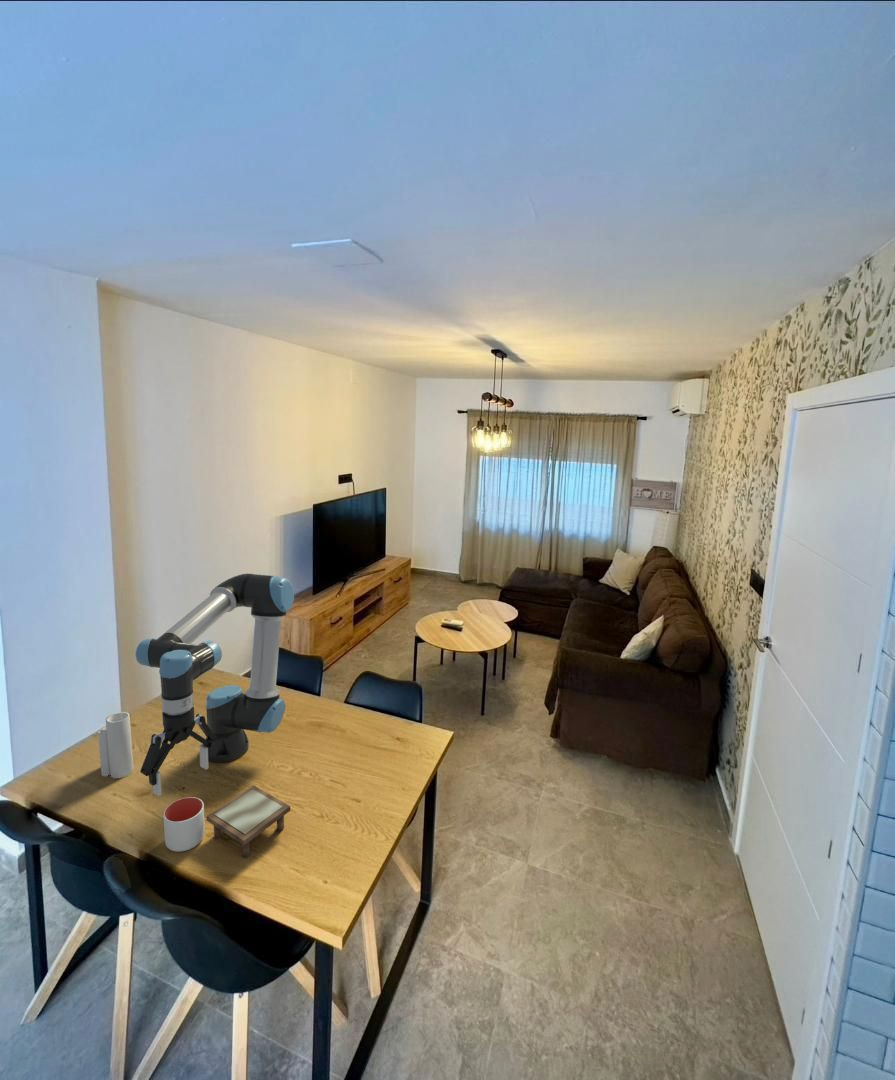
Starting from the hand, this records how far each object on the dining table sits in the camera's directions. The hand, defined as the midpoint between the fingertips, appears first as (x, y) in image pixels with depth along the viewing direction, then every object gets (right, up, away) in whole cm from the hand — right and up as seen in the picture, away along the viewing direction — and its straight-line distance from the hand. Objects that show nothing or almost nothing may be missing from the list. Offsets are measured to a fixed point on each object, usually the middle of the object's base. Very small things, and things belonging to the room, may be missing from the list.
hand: (181, 780), depth 144 cm
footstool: (+15, -19, +8) cm, 26 cm away
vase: (-38, -11, +31) cm, 50 cm away
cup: (-1, -19, +4) cm, 20 cm away
